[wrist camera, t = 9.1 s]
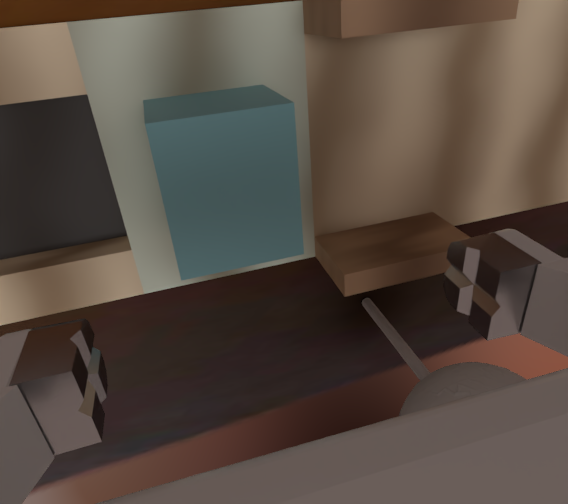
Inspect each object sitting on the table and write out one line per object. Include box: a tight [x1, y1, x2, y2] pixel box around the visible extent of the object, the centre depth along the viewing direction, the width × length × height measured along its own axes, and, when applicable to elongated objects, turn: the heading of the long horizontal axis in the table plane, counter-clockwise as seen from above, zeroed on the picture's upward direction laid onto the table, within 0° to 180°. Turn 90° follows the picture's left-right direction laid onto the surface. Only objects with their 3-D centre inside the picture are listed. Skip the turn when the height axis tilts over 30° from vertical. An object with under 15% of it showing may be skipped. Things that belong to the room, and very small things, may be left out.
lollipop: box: [362, 298, 526, 416], centre depth 23 cm, size 7×7×15 cm
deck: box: [0, 0, 568, 325], centre depth 20 cm, size 35×12×6 cm, turn 95°
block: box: [143, 84, 304, 281], centre depth 18 cm, size 5×6×4 cm
